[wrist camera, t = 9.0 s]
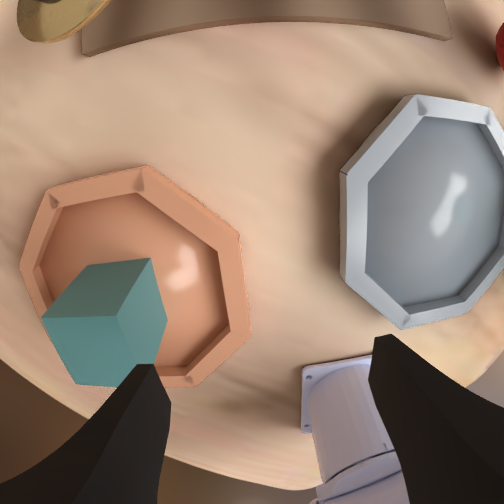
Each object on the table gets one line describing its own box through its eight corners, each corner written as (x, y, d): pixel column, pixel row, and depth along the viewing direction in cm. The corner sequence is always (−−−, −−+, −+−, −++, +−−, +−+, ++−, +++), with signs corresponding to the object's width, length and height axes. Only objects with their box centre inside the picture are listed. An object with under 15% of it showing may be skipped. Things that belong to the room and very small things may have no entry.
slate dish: (489, 292, 21) (500, 302, 19) (334, 325, 21) (341, 341, 19) (509, 115, 15) (525, 117, 13) (330, 92, 15) (340, 88, 13)
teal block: (167, 320, 19) (146, 387, 14) (108, 323, 19) (75, 384, 14) (150, 257, 17) (116, 315, 12) (87, 264, 17) (40, 318, 12)
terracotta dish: (256, 365, 22) (257, 383, 20) (80, 368, 22) (73, 382, 20) (230, 152, 16) (229, 154, 14) (15, 196, 16) (0, 203, 14)
